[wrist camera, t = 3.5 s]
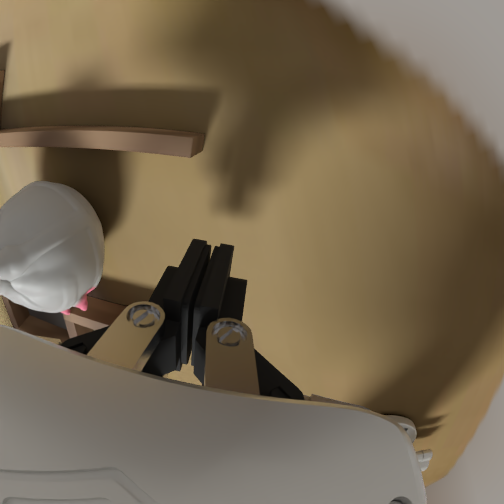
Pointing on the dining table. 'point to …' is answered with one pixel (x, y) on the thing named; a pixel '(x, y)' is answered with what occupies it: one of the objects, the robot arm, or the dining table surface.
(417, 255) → the dining table surface
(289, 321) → the dining table surface
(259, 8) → the dining table surface
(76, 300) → the figurine
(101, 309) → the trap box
